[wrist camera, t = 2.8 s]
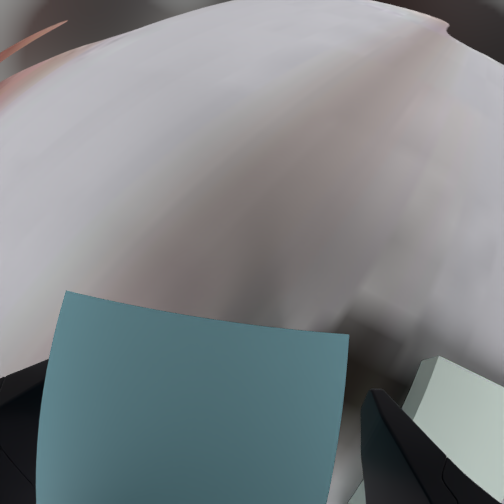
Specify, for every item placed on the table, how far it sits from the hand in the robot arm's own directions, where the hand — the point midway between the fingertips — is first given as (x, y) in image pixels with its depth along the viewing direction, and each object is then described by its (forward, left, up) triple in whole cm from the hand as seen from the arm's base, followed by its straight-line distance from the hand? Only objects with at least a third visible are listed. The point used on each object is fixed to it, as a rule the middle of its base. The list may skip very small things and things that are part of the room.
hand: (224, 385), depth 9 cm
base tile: (+6, -12, -7) cm, 15 cm away
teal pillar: (-1, -1, -7) cm, 7 cm away
